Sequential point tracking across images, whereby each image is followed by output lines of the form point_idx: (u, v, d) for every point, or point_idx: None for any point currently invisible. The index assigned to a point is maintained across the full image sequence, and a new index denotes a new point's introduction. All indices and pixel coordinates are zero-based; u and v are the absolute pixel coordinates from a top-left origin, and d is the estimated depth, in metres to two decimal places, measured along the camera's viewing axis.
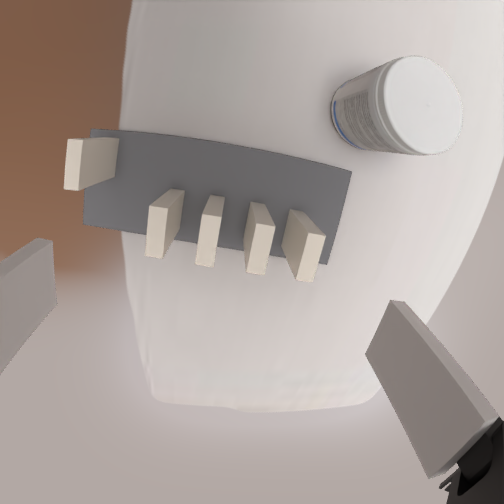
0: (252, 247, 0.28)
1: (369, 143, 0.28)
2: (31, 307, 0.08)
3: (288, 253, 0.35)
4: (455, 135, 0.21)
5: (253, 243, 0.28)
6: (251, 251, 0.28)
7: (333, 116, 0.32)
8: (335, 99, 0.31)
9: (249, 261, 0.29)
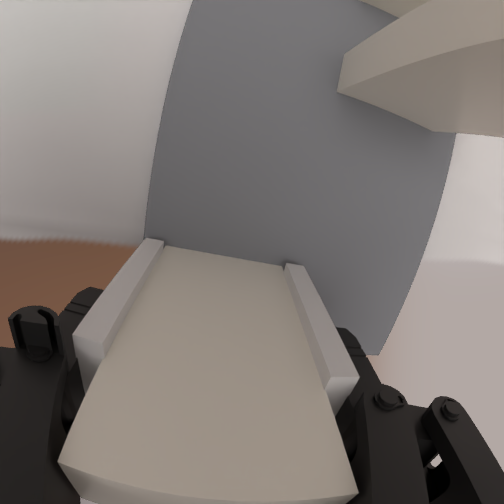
0: None
1: None
2: None
3: None
4: None
5: None
6: None
7: None
8: None
9: None
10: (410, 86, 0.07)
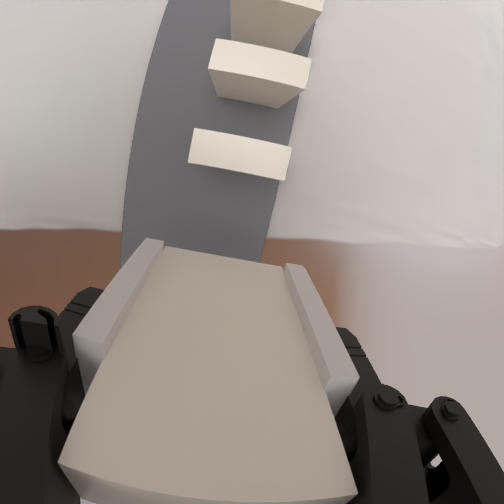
0: None
1: None
2: None
3: None
4: None
5: None
6: None
7: None
8: None
9: (301, 4, 0.12)
10: None
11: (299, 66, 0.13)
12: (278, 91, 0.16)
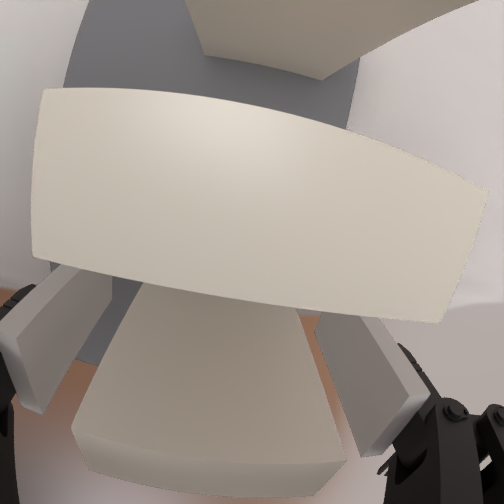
0: None
1: None
2: (95, 301, 0.09)
3: None
4: None
5: None
6: None
7: None
8: None
9: None
10: None
11: None
12: (375, 3, 0.04)
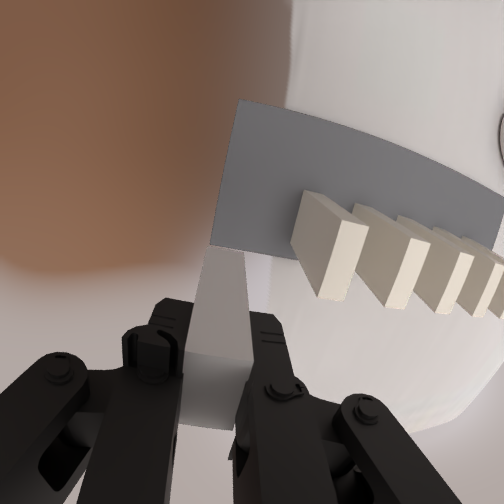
0: (485, 289, 0.19)
1: None
2: None
3: None
4: None
5: (487, 284, 0.19)
6: (483, 293, 0.19)
7: None
8: None
9: (478, 304, 0.19)
10: (369, 225, 0.23)
11: (447, 307, 0.19)
12: (424, 285, 0.21)
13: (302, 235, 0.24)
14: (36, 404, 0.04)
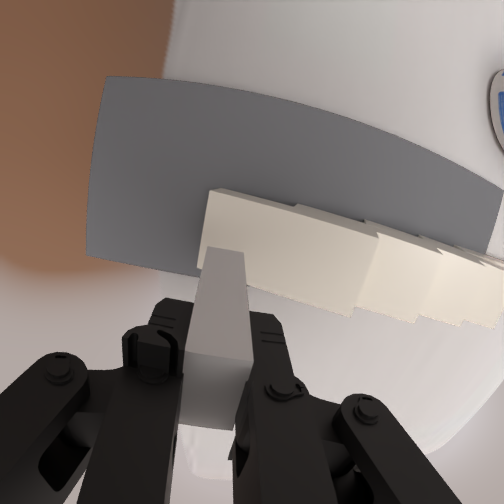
0: None
1: None
2: None
3: None
4: None
5: None
6: None
7: (497, 112, 0.16)
8: (501, 89, 0.15)
9: (499, 316, 0.18)
10: None
11: None
12: (440, 307, 0.18)
13: (250, 256, 0.18)
14: (36, 404, 0.04)
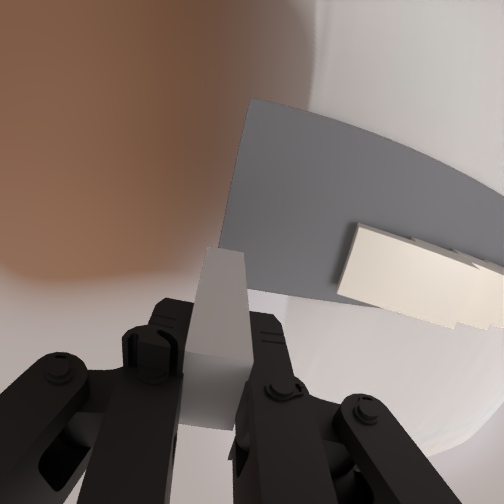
0: None
1: None
2: None
3: None
4: None
5: None
6: None
7: None
8: None
9: None
10: None
11: None
12: (500, 316, 0.20)
13: (388, 284, 0.19)
14: (36, 404, 0.04)
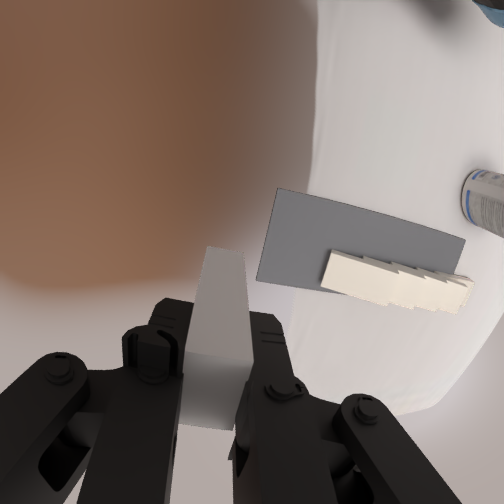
0: (462, 300, 0.40)
1: (493, 231, 0.34)
2: None
3: None
4: None
5: (463, 298, 0.39)
6: (461, 302, 0.40)
7: (465, 201, 0.38)
8: (469, 189, 0.37)
9: (458, 308, 0.40)
10: None
11: None
12: (425, 302, 0.40)
13: (347, 281, 0.39)
14: (36, 404, 0.04)
